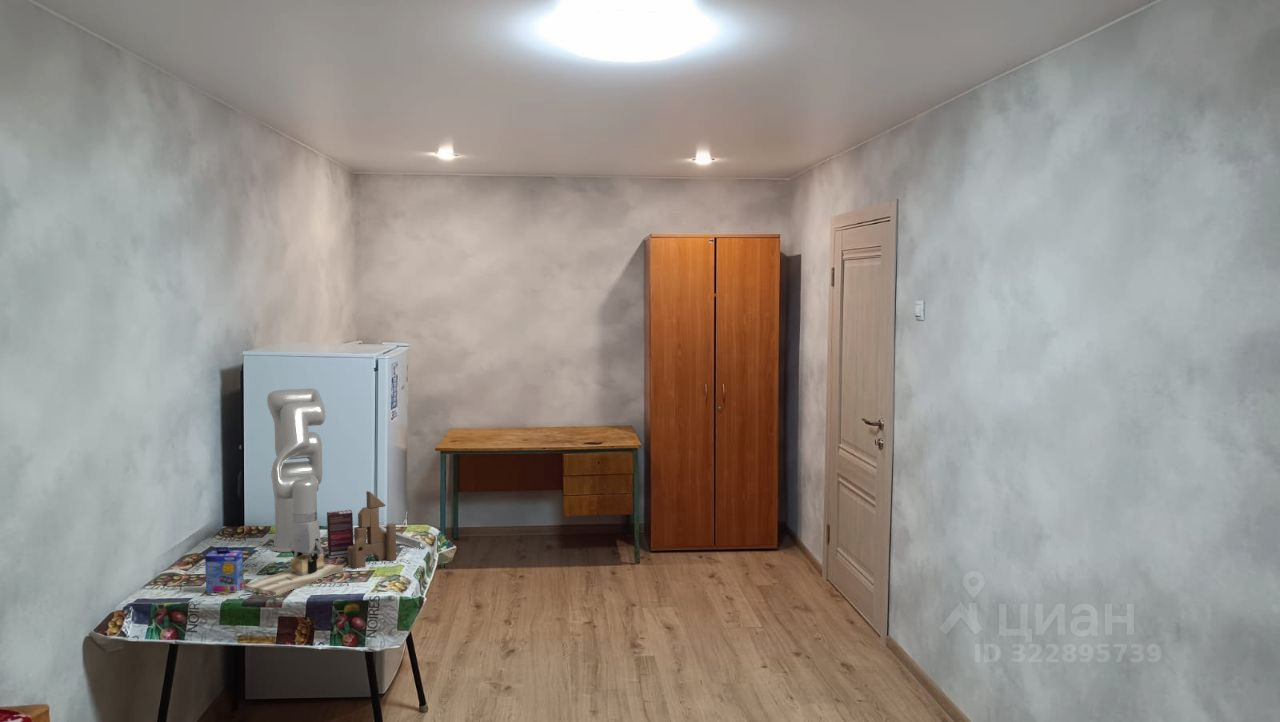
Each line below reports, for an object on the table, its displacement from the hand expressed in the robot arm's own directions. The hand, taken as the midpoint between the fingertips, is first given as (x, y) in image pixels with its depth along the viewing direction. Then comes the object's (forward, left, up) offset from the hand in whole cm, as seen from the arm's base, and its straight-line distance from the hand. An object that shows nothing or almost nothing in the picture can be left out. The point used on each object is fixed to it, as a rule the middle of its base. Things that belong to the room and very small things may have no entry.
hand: (306, 570), depth 288 cm
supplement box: (-7, +22, -2) cm, 23 cm away
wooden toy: (+9, +21, -2) cm, 23 cm away
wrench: (0, +43, -2) cm, 43 cm away
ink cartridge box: (-12, -22, -2) cm, 25 cm away
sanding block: (0, +1, 0) cm, 1 cm away
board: (0, -5, -2) cm, 5 cm away
